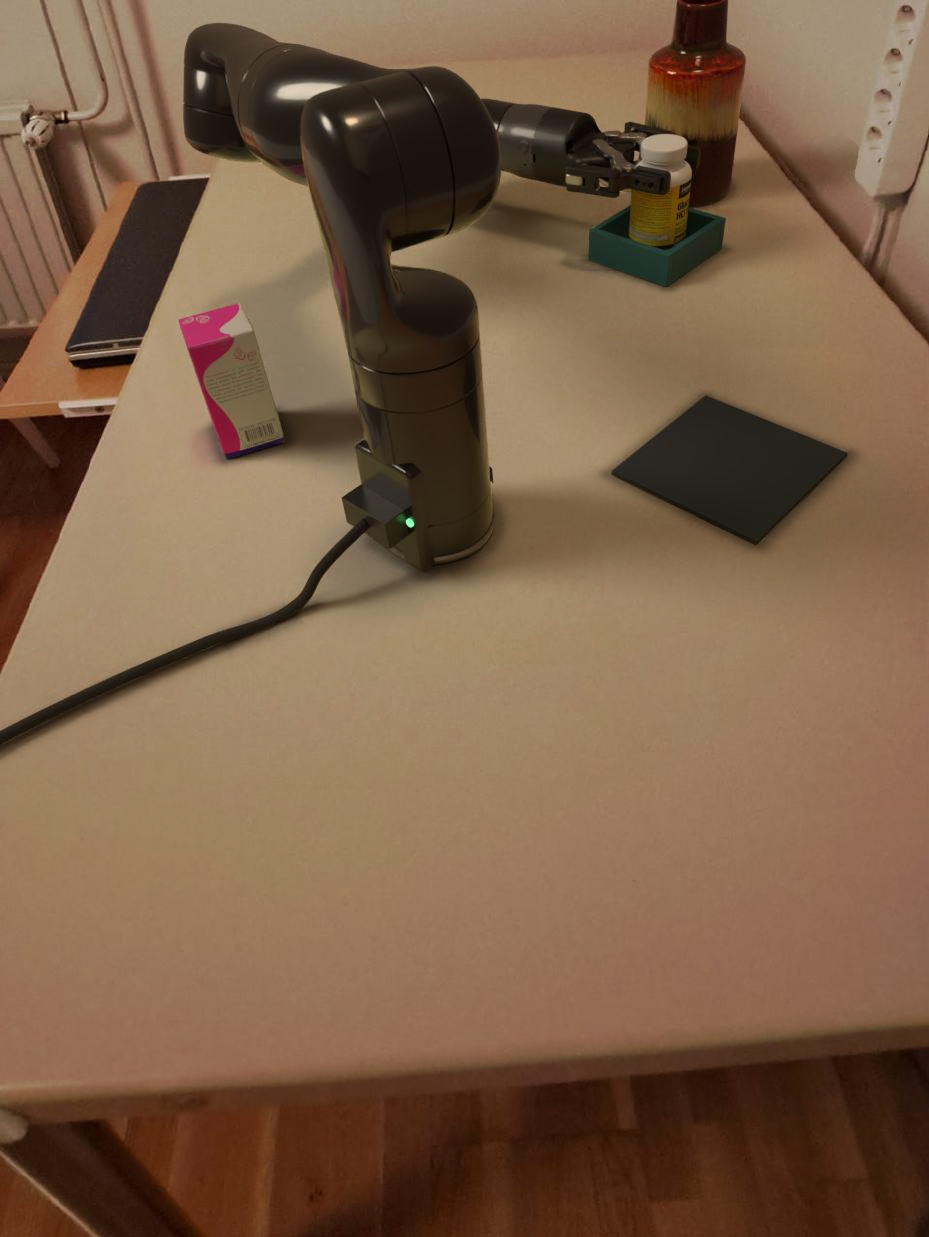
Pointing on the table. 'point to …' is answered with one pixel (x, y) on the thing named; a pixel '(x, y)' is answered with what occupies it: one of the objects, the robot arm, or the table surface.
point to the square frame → (651, 262)
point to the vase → (699, 93)
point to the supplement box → (232, 379)
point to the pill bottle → (662, 214)
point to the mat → (730, 467)
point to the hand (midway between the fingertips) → (683, 171)
